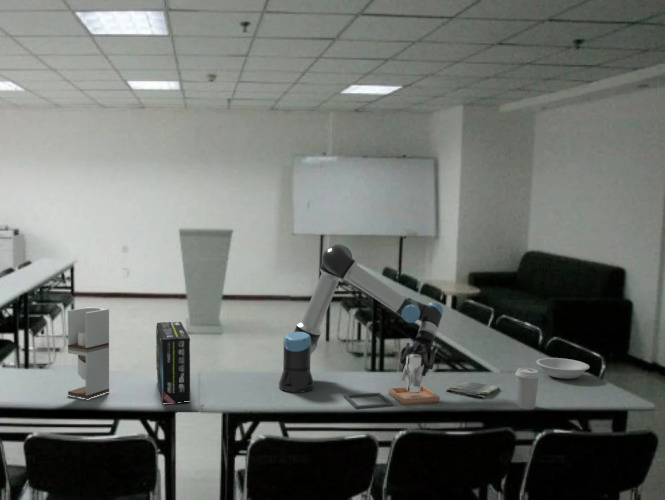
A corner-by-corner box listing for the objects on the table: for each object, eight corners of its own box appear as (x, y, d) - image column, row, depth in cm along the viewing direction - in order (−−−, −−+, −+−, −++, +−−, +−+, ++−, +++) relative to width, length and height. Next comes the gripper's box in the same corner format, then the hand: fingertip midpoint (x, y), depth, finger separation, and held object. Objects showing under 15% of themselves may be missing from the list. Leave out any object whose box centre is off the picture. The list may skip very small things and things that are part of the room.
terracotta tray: (402, 405, 252) (403, 399, 252) (388, 393, 267) (388, 388, 267) (439, 402, 257) (439, 396, 256) (422, 391, 272) (423, 385, 272)
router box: (155, 381, 278) (155, 321, 277) (181, 380, 282) (181, 320, 280) (162, 406, 245) (162, 338, 243) (191, 403, 249) (191, 336, 247)
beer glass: (424, 390, 264) (425, 354, 263) (419, 394, 257) (420, 358, 256) (408, 388, 266) (409, 353, 266) (403, 392, 260) (403, 356, 259)
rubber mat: (355, 408, 246) (355, 406, 246) (343, 396, 262) (343, 394, 262) (393, 405, 251) (393, 403, 251) (379, 394, 266) (379, 392, 266)
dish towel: (462, 384, 287) (463, 377, 287) (500, 391, 277) (501, 384, 276) (444, 393, 272) (445, 386, 272) (484, 401, 262) (484, 393, 261)
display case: (90, 389, 265) (90, 306, 262) (109, 393, 260) (109, 309, 258) (68, 396, 254) (67, 310, 252) (87, 400, 250) (87, 313, 247)
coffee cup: (540, 411, 248) (541, 374, 247) (514, 409, 249) (516, 372, 249) (537, 404, 257) (538, 368, 256) (513, 402, 259) (514, 366, 258)
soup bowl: (597, 384, 289) (598, 370, 289) (544, 383, 289) (545, 369, 289) (577, 371, 313) (578, 358, 312) (529, 370, 313) (529, 357, 313)
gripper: (449, 342, 269) (435, 389, 256) (407, 337, 279) (391, 381, 266) (446, 332, 264) (431, 379, 251) (403, 327, 274) (386, 372, 261)
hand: (410, 380), depth 258 cm, fingers closed on beer glass, 6 cm apart
